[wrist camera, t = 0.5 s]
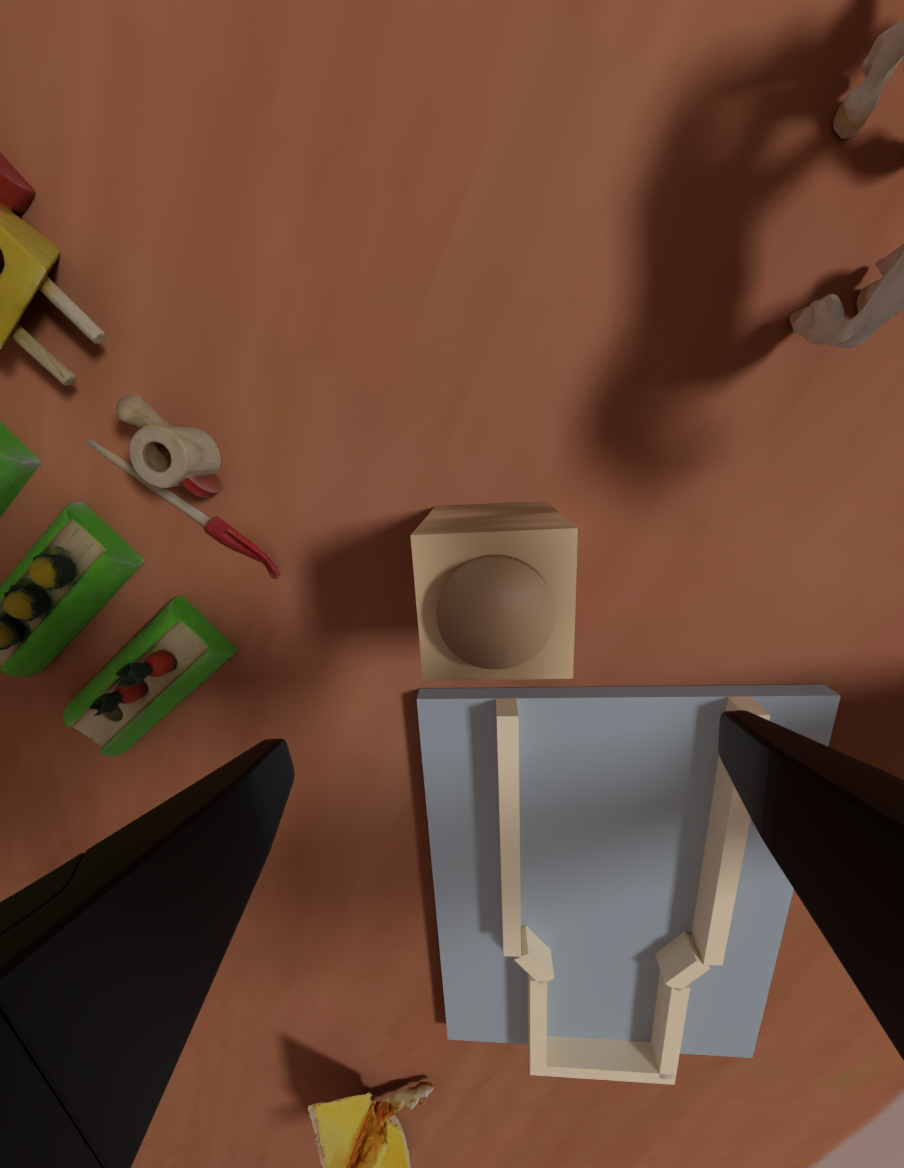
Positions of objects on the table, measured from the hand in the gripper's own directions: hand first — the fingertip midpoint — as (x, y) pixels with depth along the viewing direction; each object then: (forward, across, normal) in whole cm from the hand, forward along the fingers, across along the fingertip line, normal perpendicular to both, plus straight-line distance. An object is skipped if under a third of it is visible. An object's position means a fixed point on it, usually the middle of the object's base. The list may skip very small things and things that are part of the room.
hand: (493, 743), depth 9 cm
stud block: (+12, 0, -1) cm, 12 cm away
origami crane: (+13, +14, +38) cm, 42 cm away
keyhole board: (+12, -5, +20) cm, 24 cm away
